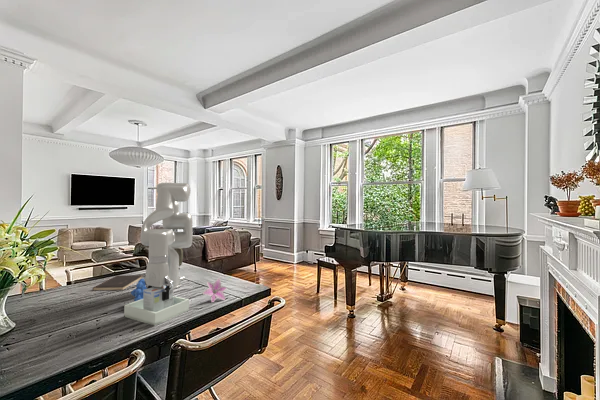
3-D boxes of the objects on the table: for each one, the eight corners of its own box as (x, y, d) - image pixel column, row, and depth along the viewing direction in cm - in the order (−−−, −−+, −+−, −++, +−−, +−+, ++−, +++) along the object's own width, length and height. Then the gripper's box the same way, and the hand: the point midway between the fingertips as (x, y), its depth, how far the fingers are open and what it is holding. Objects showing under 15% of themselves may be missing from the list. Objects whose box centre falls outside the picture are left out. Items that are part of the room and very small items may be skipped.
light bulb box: (163, 305, 127) (163, 282, 127) (174, 308, 124) (174, 284, 124) (142, 314, 117) (142, 289, 117) (153, 317, 115) (153, 291, 114)
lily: (198, 305, 133) (203, 290, 130) (202, 288, 144) (207, 274, 141) (222, 310, 137) (228, 296, 134) (224, 293, 147) (230, 280, 144)
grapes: (134, 300, 135) (135, 276, 135) (149, 299, 137) (150, 275, 137) (126, 309, 124) (126, 283, 124) (142, 308, 126) (142, 282, 126)
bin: (159, 303, 133) (159, 292, 133) (188, 310, 125) (189, 299, 125) (124, 316, 117) (124, 305, 117) (155, 325, 109) (155, 313, 109)
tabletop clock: (181, 269, 196) (181, 234, 196) (183, 272, 189) (183, 236, 189) (158, 271, 189) (159, 235, 189) (159, 274, 181) (160, 237, 181)
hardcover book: (142, 278, 174) (143, 275, 174) (123, 290, 151) (123, 286, 151) (116, 279, 172) (116, 275, 172) (92, 291, 149) (92, 287, 149)
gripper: (137, 259, 121) (136, 297, 121) (164, 263, 114) (164, 304, 114) (152, 256, 128) (152, 292, 128) (179, 259, 121) (178, 298, 121)
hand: (157, 298), depth 121 cm, fingers open, 9 cm apart
